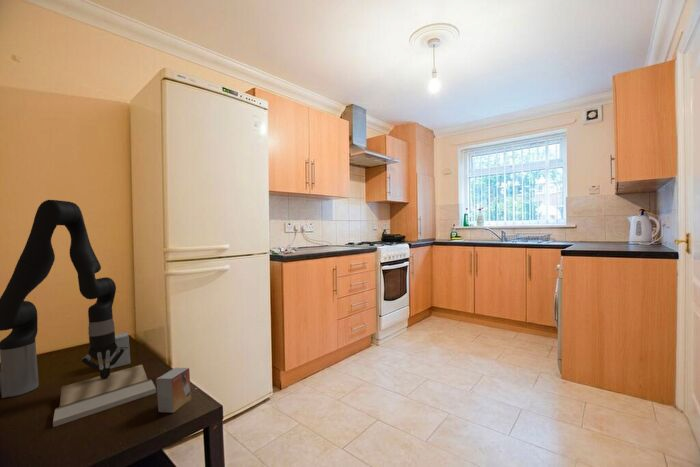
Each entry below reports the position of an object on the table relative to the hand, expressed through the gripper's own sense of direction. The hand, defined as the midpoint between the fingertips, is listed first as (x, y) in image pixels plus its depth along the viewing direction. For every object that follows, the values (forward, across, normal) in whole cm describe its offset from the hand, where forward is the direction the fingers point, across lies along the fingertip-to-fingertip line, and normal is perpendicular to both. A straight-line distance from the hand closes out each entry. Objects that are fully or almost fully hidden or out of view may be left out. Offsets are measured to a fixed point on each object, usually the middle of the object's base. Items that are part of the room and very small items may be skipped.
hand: (105, 377), depth 116 cm
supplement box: (+4, -6, -22) cm, 24 cm away
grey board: (+3, 0, +16) cm, 17 cm away
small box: (+3, -16, +36) cm, 40 cm away
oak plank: (+2, 0, +4) cm, 4 cm away
